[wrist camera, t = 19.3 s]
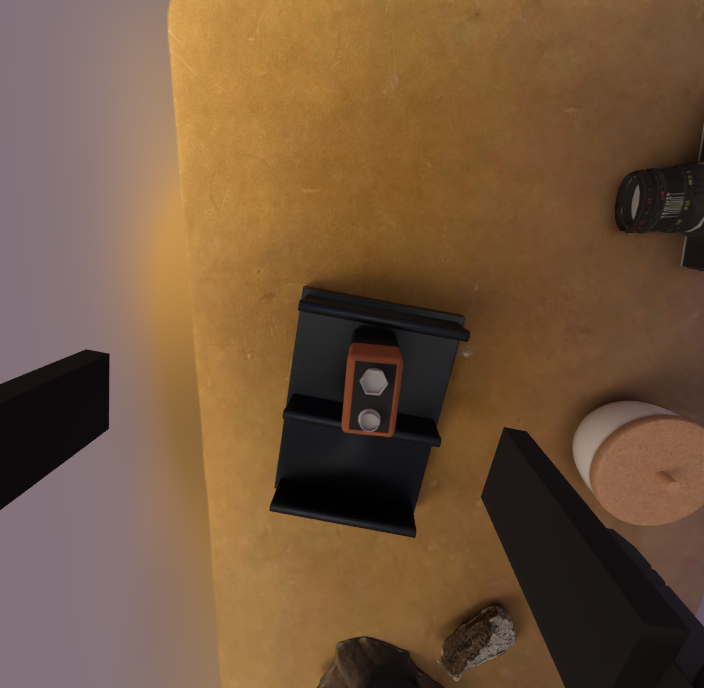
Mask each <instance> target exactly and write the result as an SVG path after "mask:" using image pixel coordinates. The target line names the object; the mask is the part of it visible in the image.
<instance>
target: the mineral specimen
mask: <svg viewBox="0 0 704 688" xmlns="http://www.w3.org/2000/svg"><path fill="white" fill-rule="evenodd" d="M317 688H442V687H441V686H440V684H438V683H436V682H434V681H432V679H430V678H429V677H427V676H425V674H423V673H419V671H418V670H417V669H416V667H415V665H414V663H413V662H412V661H411V659H410V658H409V653H407V652H406V651H403V650H399V649H397V648H395V647H393V646H392V645H390V644H386V643H383V642H380V641H376V640H374V639H366V638H365V637H362V638H360V639H353V640H346V642H339V643H338V644H337V645H336V658H335V660H334V663H333V666H332V668H331V669H330V670H329V671H327V672H326V673H325V674H324V675H323V677H322V678H321V679H320V683H319V685H318V687H317Z"/></svg>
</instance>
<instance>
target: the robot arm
mask: <svg viewBox="0 0 704 688" xmlns="http://www.w3.org/2000/svg"><path fill="white" fill-rule="evenodd" d="M108 429H109V354H108V353H103V352H97V351H91V350H84V351H81V352H78V353H76V354H74V355H71V356H69V357H66V358H64V359H61V360H59V361H56V362H54V363H51V364H49V365H46V366H44V367H42V368H39V369H37V370H34V371H31V372H29V373H27V374H24V375H22V376H19V377H17V378H14V379H12V380H9V381H7V382H4V383H2V384H0V510H1V509H2V508H3V507H5V506H6V505H8V504H9V503H10V502H12V501H13V500H14V499H16V498H17V497H18V496H20V495H21V494H22V493H24V492H25V491H26V490H28V489H29V488H30V487H32V486H33V485H34V484H36V483H37V482H38V481H40V480H41V479H42V478H44V477H45V476H46V475H48V474H49V473H50V472H52V471H53V470H54V469H56V468H57V467H58V466H60V465H61V464H62V463H64V462H65V461H66V460H68V459H69V458H70V457H72V456H73V455H74V454H76V453H77V452H78V451H80V450H81V449H82V448H84V447H85V446H86V445H88V444H89V443H91V442H92V441H93V440H95V439H96V438H97V437H99V436H100V435H101V434H102V433H104V432H105V431H106V430H108ZM481 498H482V500H483V503H484V505H485V507H486V509H487V512H488V514H489V516H490V518H491V521H492V523H493V525H494V527H495V530H496V532H497V534H498V537H499V539H500V541H501V543H502V546H503V548H504V550H505V552H506V555H507V557H508V559H509V561H510V564H511V566H512V568H513V570H514V573H515V575H516V577H517V579H518V582H519V584H520V586H521V589H522V591H523V593H524V595H525V598H526V600H527V602H528V604H529V607H530V609H531V611H532V613H533V616H534V618H535V620H536V622H537V625H538V627H539V629H540V632H541V634H542V636H543V638H544V641H545V643H546V645H547V647H548V650H549V652H550V654H551V656H552V659H553V661H554V663H555V665H556V668H557V670H558V672H559V675H560V677H561V679H562V681H563V684H564V686H565V688H704V626H703V625H702V624H701V623H700V622H699V621H698V619H697V618H696V617H695V616H694V615H693V614H692V612H691V611H690V610H689V609H688V608H687V607H686V606H685V604H684V603H683V602H682V601H681V600H680V599H679V597H678V596H677V595H676V594H675V593H674V592H673V590H672V589H671V588H670V587H669V586H666V585H665V581H664V580H663V579H662V578H661V577H660V575H659V574H658V573H657V572H656V571H655V570H653V569H651V565H650V564H649V563H648V562H647V560H646V559H645V558H644V557H643V556H642V555H641V554H640V552H639V551H638V550H637V549H636V548H635V547H634V546H633V545H632V544H631V543H629V542H628V541H627V540H626V539H624V538H623V537H622V536H621V535H619V534H618V533H617V532H616V531H614V530H613V529H608V528H606V527H605V526H604V525H603V524H602V522H601V521H600V520H599V519H598V518H597V516H596V515H595V514H594V513H593V512H592V510H591V509H590V508H589V507H588V505H587V504H586V503H585V502H584V501H583V499H582V498H581V497H580V496H579V495H578V493H577V492H576V491H575V490H574V488H573V487H572V486H571V485H570V484H569V482H568V481H567V480H566V479H565V478H564V476H563V475H562V474H561V473H560V471H559V470H558V469H557V468H556V467H555V465H554V464H553V463H552V462H551V461H550V459H549V458H548V457H547V456H546V454H545V453H544V452H543V451H542V450H541V448H540V447H539V446H538V445H537V444H536V442H535V441H534V440H533V439H532V437H531V436H530V435H529V434H528V433H527V431H522V430H516V429H511V428H506V427H504V428H503V431H502V435H501V438H500V441H499V444H498V447H497V450H496V453H495V456H494V459H493V462H492V465H491V468H490V471H489V474H488V477H487V480H486V483H485V486H484V489H483V492H482V495H481Z"/></svg>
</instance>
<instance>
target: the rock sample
mask: <svg viewBox="0 0 704 688" xmlns="http://www.w3.org/2000/svg"><path fill="white" fill-rule="evenodd" d="M512 628H513V623H512V620H511V618H510V617H509V616H508V614H507V613H506V612H505V611H504V610H503V609H501V608H500V607H499V606H491V607H488V608H484V609H483V610H481V612H480V614H479V615H478V616H476V617H474V618H473V619H471V620H470V621H469V622H468V623H466V624H463V625H460V626H459V627H458V628H457V629H456V630H455V632H454V633H453V634H451V635H450V637H448V638H447V639H445V640H444V643H443V645H442V650H441V659H440V661H438V663H439V664H441V667H442V668H444V670H446V672H447V673H448V674H449V675H451V676H452V678H453V679H454V680H455V681H459V680H460V679H461V677H462V675H463V673H464V671H465V670H467V669H468V668H469V667H470V666H473V667H477V666H478V665H479V664H480V663H481V664H482V663H484V662H486V661H487V660H489V659H492V658H495V657H497V656H499V655H501V654H503V653H505V652H506V651H507V650H508V649H509V648H510V647H511V646H512V645H513V644H515V643H516V639H515V637H514V635H515V634H516V633H515V631H513V629H512Z"/></svg>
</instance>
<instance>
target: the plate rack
mask: <svg viewBox="0 0 704 688" xmlns="http://www.w3.org/2000/svg"><path fill="white" fill-rule="evenodd" d="M298 310H299V311H300V313H299V320H298V327H297V334H296V341H295V348H294V355H293V362H292V369H291V376H290V383H289V390H288V397H287V404H286V408H285V409H284V412H283V419H284V425H283V432H282V439H281V446H280V453H279V460H278V467H277V474H276V481H275V489H276V491H275V494H274V497H273V499H272V502H271V505H270V511H272V512H278V513H283V514H288V515H294V516H299V517H305V518H310V519H316V520H321V521H326V522H332V523H337V524H343V525H348V526H354V527H359V528H364V529H370V530H375V531H381V532H386V533H392V534H397V535H403V536H408V537H413V538H415V536H416V526H415V520H414V511H415V507H416V503H417V499H418V495H419V492H420V488H421V484H422V480H423V476H424V473H425V469H426V465H427V461H428V458H429V454H430V450H431V446H434V447H440V444H441V437H440V436H439V433H438V430H437V428H436V427H437V423H438V420H439V416H440V412H441V408H442V405H443V401H444V397H445V393H446V389H447V386H448V382H449V378H450V374H451V371H452V367H453V363H454V359H455V355H456V352H457V348H458V344H459V341H464V342H467V341H468V340H469V337H470V331H468V330H466V329H465V328H464V327H463V325H464V321H465V317H464V316H463V315H459V314H454V313H448V312H443V311H438V310H432V309H427V308H421V307H416V306H411V305H405V304H400V303H394V302H389V301H384V300H378V299H373V298H367V297H362V296H357V295H351V294H346V293H340V292H335V291H330V290H324V289H319V288H313V287H308V286H305V287H303V292H302V299H301V300H300V301H299V306H298ZM355 329H364V330H374V331H384V332H393V333H395V335H396V337H397V340H398V344H399V348H400V352H401V355H402V359H403V372H402V380H401V388H400V395H399V403H398V410H397V418H396V426H395V432H394V434H393V435H392V436H391V437H384V436H374V435H364V434H355V433H346V432H344V431H343V430H342V413H343V402H344V391H345V380H346V369H347V359H348V353H349V348H350V343H351V338H352V333H353V331H354V330H355Z"/></svg>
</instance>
